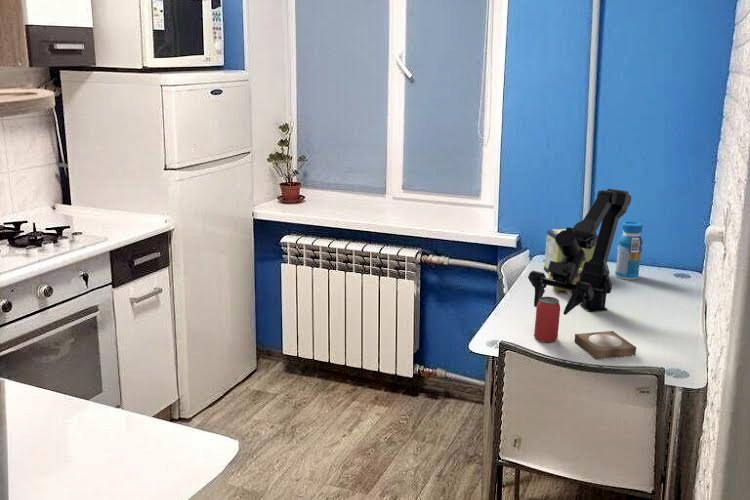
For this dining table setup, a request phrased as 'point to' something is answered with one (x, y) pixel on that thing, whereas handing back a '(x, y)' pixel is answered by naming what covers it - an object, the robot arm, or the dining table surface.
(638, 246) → the beverage bottle
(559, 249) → the robot arm
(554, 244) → the protein box
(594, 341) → the plinth
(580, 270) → the toy pig
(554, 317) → the beer can
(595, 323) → the dining table surface
